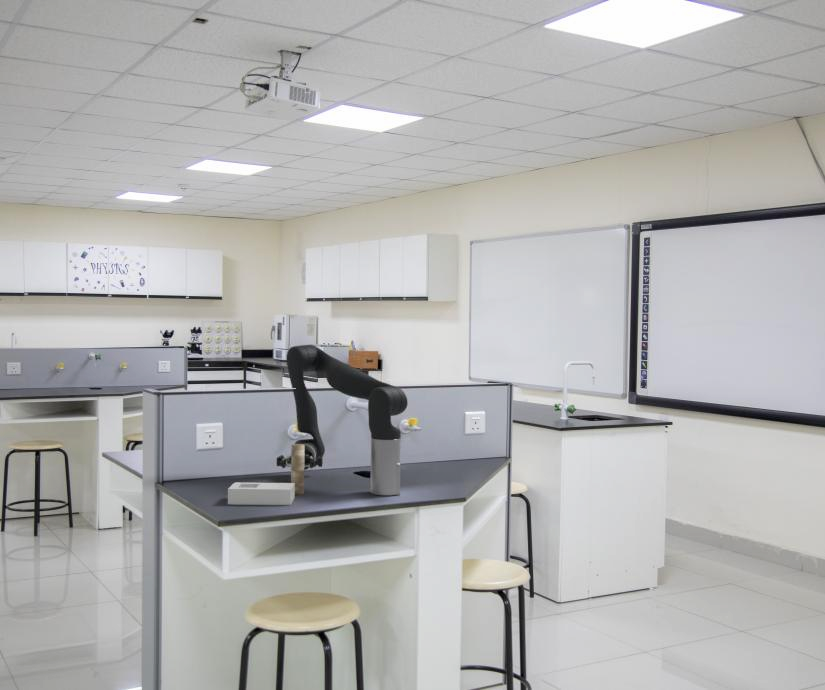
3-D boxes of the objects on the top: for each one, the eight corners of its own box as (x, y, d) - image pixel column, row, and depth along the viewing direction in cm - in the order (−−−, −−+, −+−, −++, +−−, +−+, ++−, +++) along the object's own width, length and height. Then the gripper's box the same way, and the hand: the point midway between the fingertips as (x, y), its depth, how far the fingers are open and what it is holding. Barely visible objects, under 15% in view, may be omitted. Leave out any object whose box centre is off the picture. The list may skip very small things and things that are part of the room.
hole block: (294, 498, 253) (294, 483, 253) (290, 505, 243) (290, 489, 243) (234, 497, 253) (234, 482, 253) (227, 504, 243) (227, 488, 243)
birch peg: (304, 492, 262) (305, 444, 262) (303, 494, 258) (303, 446, 258) (291, 492, 262) (292, 444, 262) (290, 494, 258) (290, 445, 258)
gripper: (281, 444, 275) (274, 452, 259) (325, 445, 275) (320, 453, 259) (281, 467, 275) (274, 476, 259) (325, 468, 275) (320, 477, 259)
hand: (297, 464), depth 259 cm, fingers open, 8 cm apart
